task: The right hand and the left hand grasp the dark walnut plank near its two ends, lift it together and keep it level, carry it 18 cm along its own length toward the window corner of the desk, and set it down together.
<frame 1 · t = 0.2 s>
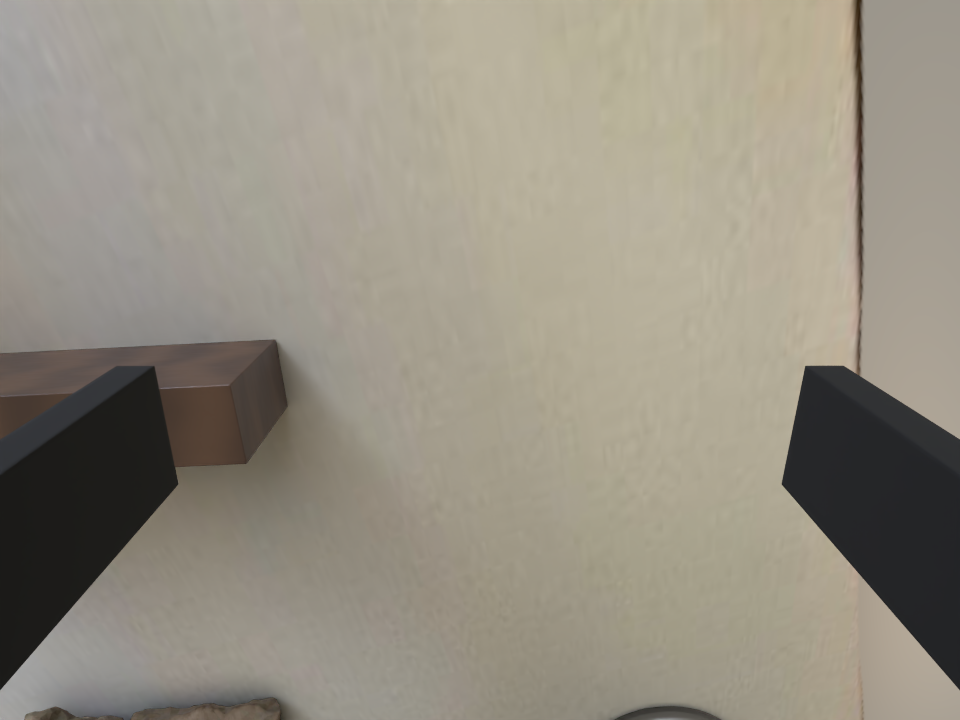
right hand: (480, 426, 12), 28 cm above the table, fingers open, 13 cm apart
plank: (53, 384, 42), on the table
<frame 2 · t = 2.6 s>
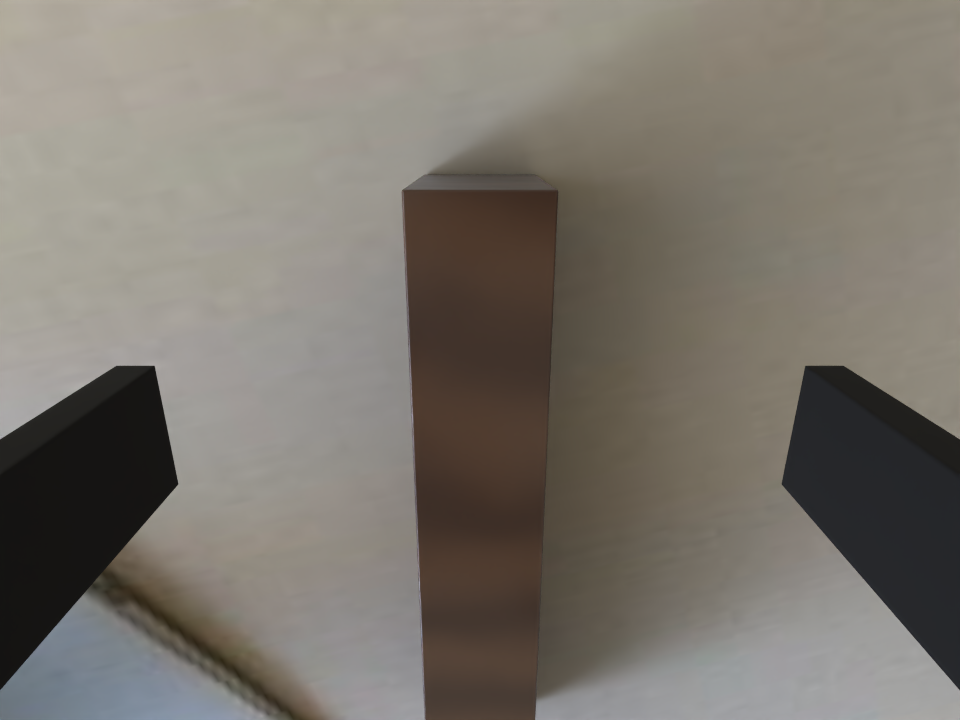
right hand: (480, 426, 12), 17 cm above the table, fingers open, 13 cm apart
plank: (480, 486, 32), on the table
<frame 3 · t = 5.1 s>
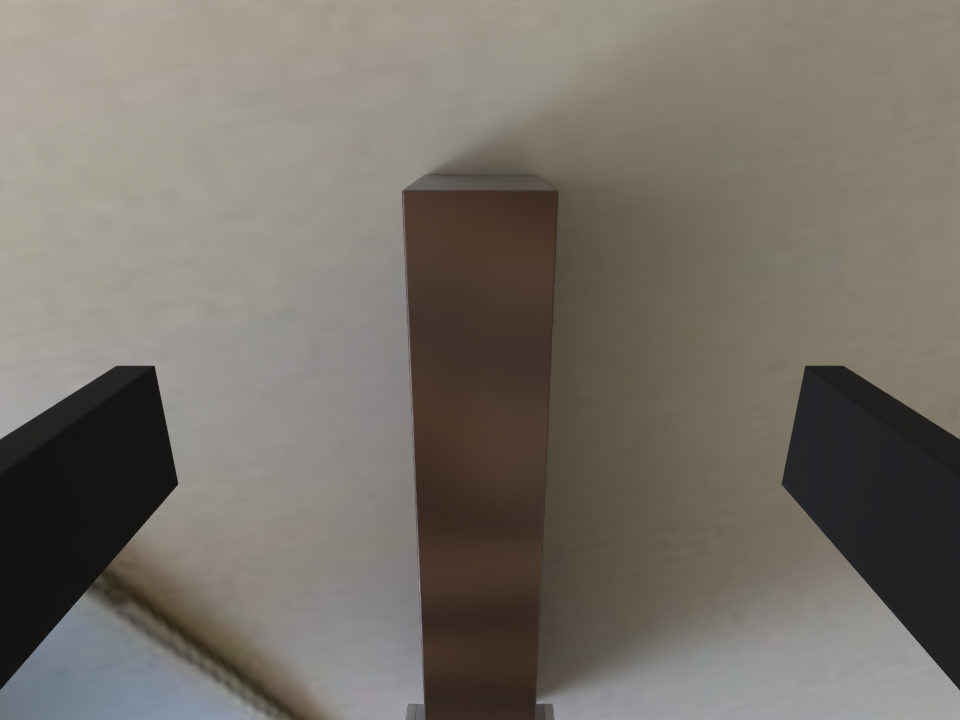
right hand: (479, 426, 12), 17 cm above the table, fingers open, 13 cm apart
plank: (480, 487, 32), on the table, touching left hand
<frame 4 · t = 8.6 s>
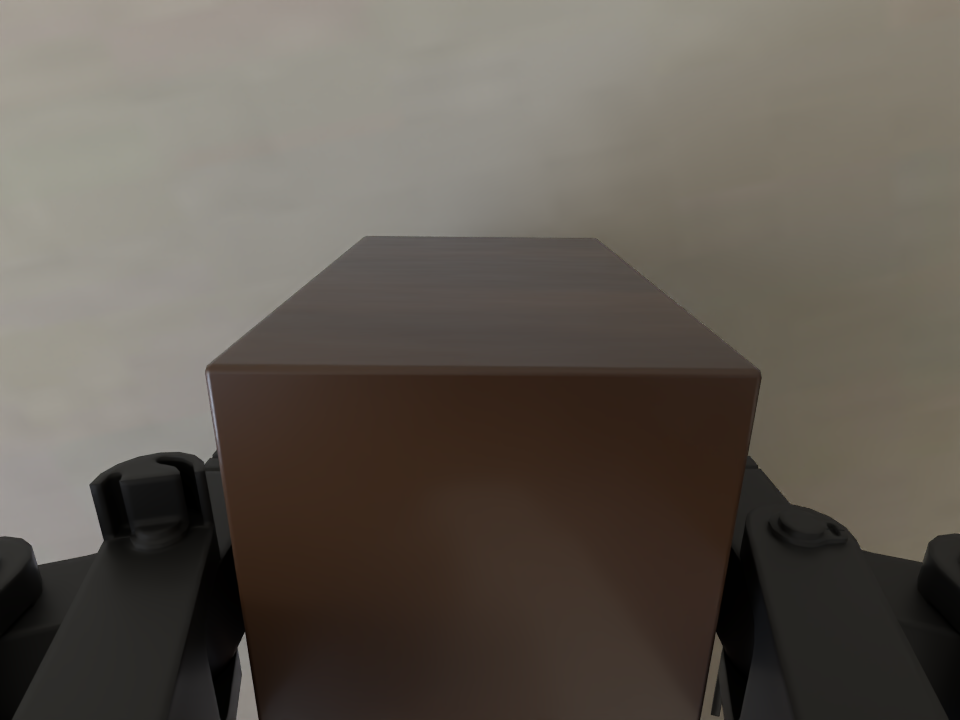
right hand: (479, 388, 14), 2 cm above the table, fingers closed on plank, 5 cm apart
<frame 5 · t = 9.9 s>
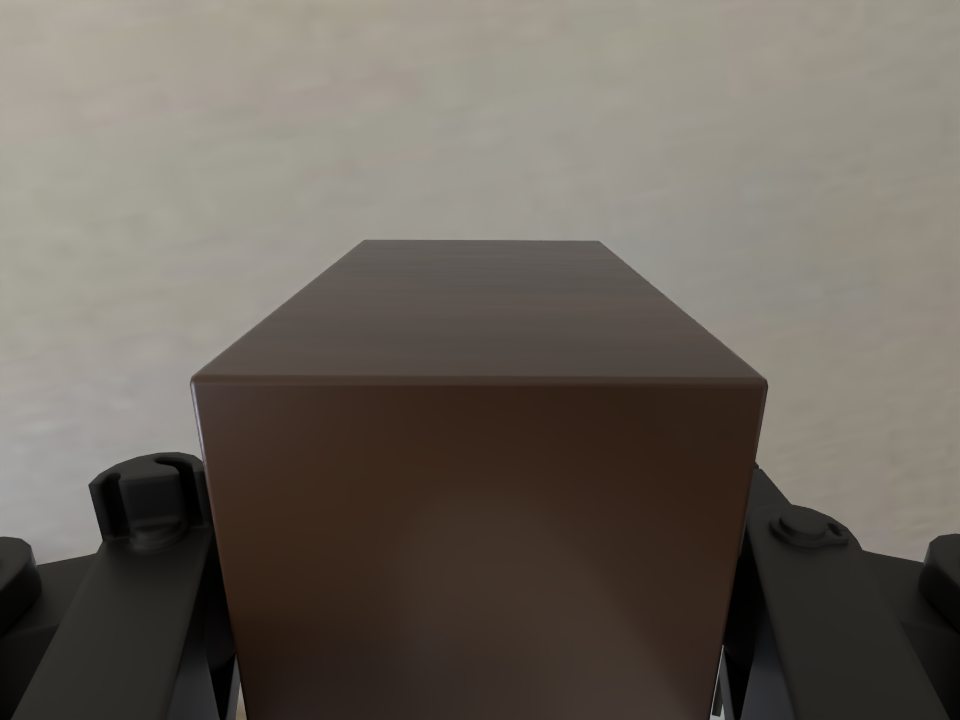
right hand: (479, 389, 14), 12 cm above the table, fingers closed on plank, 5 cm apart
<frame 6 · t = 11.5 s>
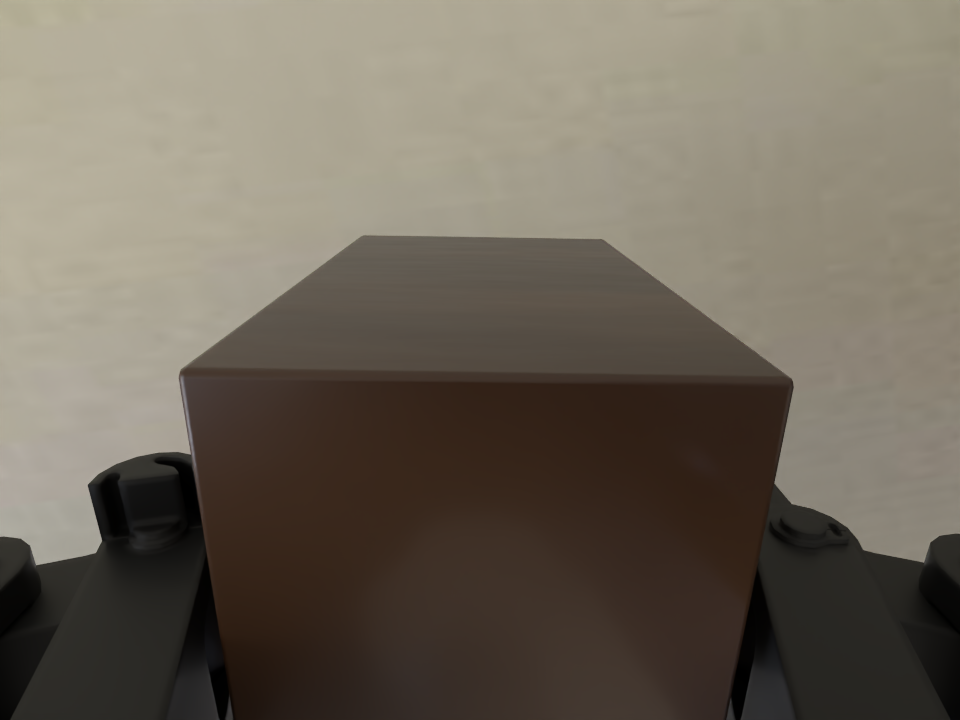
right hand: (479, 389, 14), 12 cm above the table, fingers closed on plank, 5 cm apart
when the right hand's fingers open (0 cm above the table, at t = 14.4 s): plank stays where it is, on the table.
when the left hand's fingers open (4 cm above the table, at t = 14.6 s): plank stays where it is, on the table.
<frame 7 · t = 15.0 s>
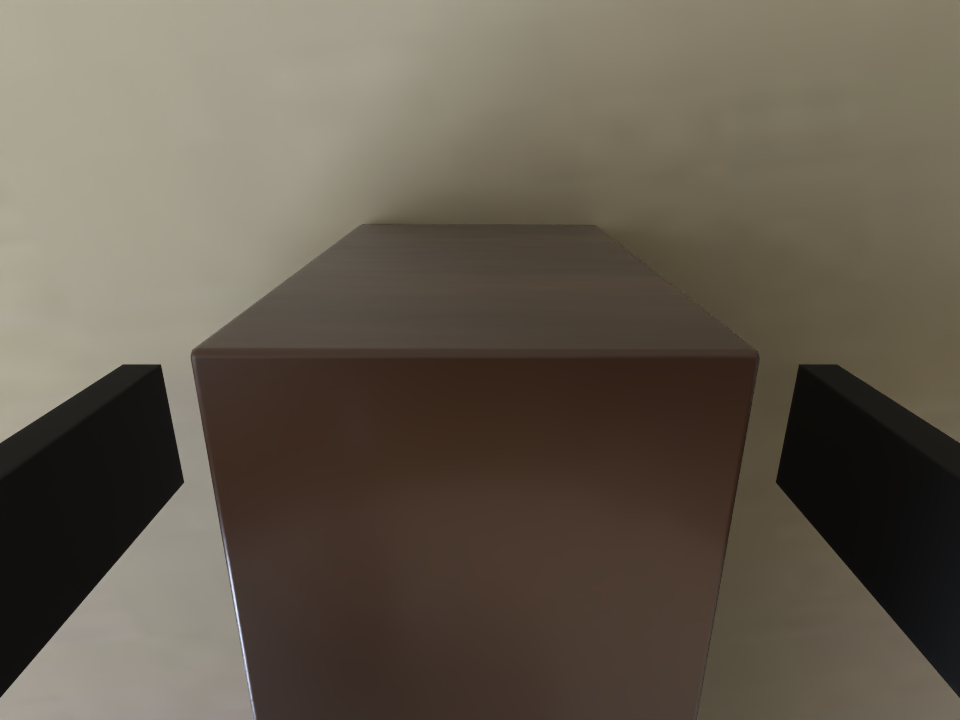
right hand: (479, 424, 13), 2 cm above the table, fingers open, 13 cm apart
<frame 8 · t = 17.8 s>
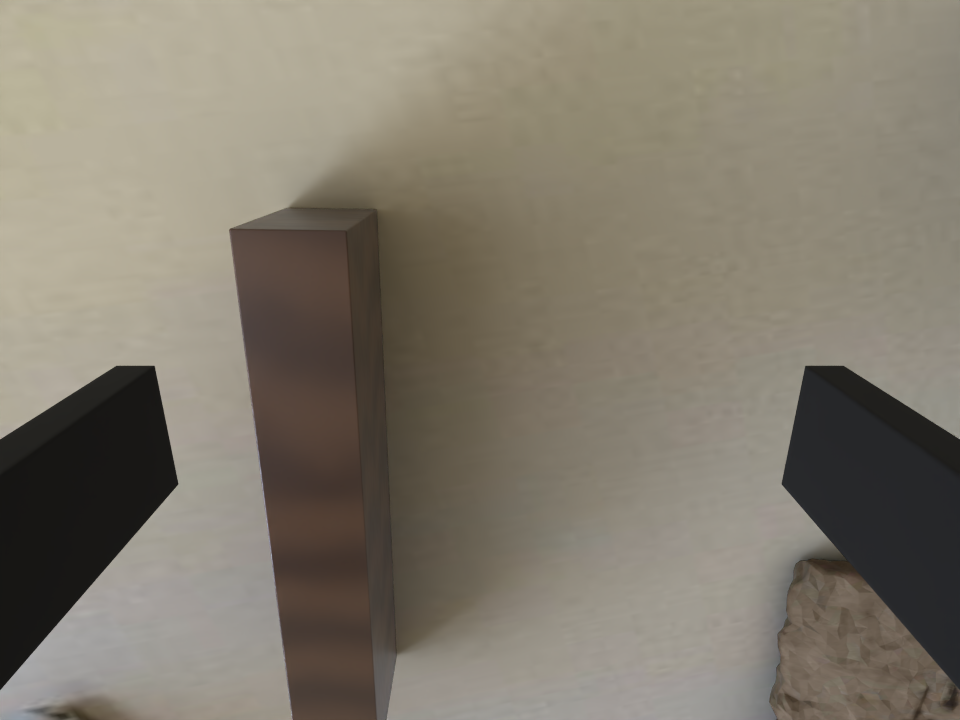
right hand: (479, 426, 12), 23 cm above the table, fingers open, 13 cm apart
stone: (845, 665, 45), on the table
plank: (349, 464, 39), on the table
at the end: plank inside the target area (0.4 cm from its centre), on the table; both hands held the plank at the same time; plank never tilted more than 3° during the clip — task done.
